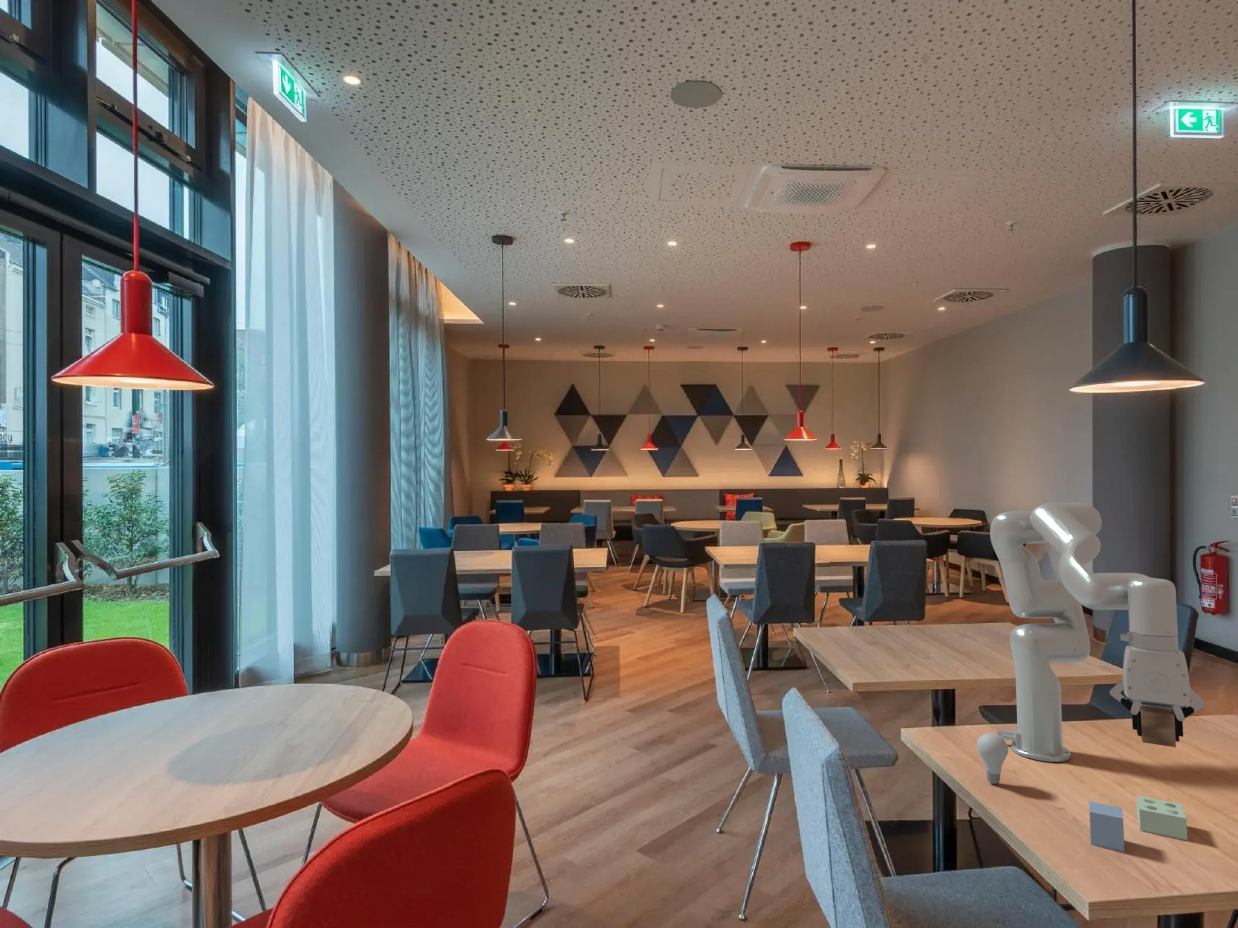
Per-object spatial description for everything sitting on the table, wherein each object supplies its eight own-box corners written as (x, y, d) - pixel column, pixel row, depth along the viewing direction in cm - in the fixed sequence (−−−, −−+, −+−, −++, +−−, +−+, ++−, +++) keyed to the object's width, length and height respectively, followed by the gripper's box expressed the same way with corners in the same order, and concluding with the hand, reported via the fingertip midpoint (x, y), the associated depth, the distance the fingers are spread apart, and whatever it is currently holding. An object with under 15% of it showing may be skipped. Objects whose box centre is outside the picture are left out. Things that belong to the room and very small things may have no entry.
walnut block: (1142, 742, 132) (1141, 710, 132) (1140, 734, 136) (1139, 703, 136) (1175, 747, 129) (1174, 715, 129) (1172, 739, 133) (1171, 708, 134)
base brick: (1140, 830, 131) (1139, 809, 131) (1137, 815, 137) (1136, 795, 137) (1187, 840, 127) (1186, 818, 127) (1182, 824, 133) (1181, 803, 133)
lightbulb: (1006, 779, 154) (1004, 730, 154) (1012, 791, 148) (1010, 739, 149) (976, 776, 156) (974, 727, 156) (980, 787, 150) (979, 736, 151)
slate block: (1090, 844, 126) (1089, 811, 127) (1090, 832, 130) (1089, 800, 131) (1124, 852, 124) (1123, 818, 124) (1122, 840, 128) (1121, 807, 128)
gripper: (1100, 640, 135) (1104, 734, 134) (1214, 651, 126) (1218, 751, 125) (1099, 634, 141) (1103, 723, 141) (1207, 643, 132) (1211, 739, 131)
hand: (1157, 735), depth 133 cm, fingers closed on walnut block, 5 cm apart
